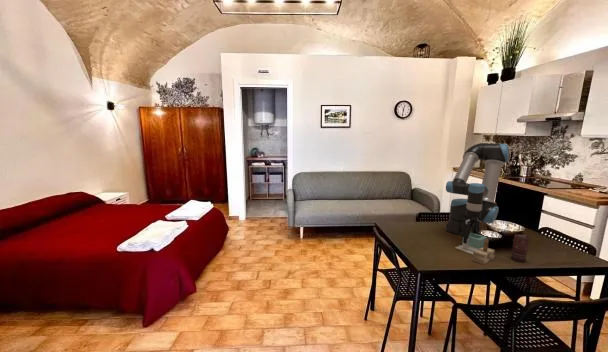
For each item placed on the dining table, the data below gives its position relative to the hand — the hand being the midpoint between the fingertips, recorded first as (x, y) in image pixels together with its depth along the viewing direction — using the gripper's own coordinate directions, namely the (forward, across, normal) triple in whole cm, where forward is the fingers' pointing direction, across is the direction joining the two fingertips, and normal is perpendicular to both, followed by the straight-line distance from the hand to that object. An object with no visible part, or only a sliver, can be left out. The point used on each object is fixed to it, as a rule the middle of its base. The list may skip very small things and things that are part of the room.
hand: (469, 246), depth 155 cm
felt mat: (+1, 0, +2) cm, 3 cm away
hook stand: (+1, +9, +12) cm, 15 cm away
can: (+1, -8, +22) cm, 23 cm away
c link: (-2, 0, +2) cm, 3 cm away
